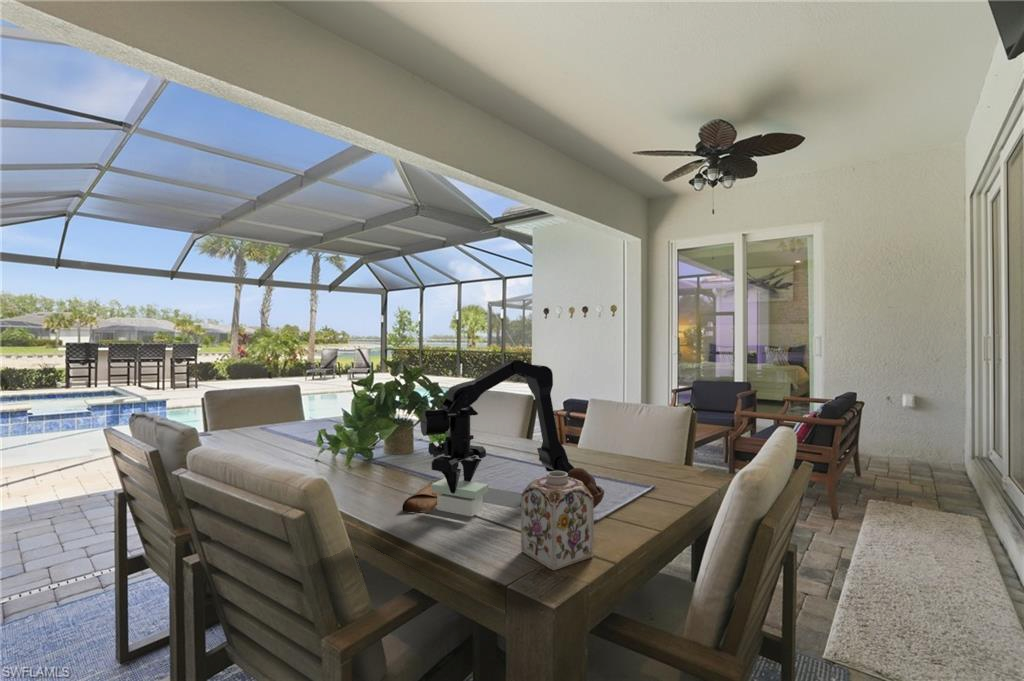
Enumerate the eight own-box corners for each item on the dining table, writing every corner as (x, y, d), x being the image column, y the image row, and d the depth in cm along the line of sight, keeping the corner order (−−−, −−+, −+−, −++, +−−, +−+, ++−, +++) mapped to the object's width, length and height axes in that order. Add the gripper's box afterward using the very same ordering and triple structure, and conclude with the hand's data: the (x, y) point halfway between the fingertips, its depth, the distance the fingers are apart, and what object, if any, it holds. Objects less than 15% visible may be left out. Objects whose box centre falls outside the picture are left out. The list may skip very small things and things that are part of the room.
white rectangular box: (482, 511, 133) (482, 495, 133) (471, 518, 128) (471, 501, 128) (448, 505, 138) (448, 489, 138) (437, 511, 133) (437, 495, 133)
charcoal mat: (533, 497, 145) (533, 495, 145) (515, 510, 134) (515, 507, 134) (481, 488, 153) (481, 486, 153) (460, 500, 142) (460, 497, 142)
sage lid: (488, 491, 133) (488, 484, 133) (475, 499, 127) (475, 491, 127) (445, 484, 139) (445, 477, 139) (431, 491, 133) (431, 484, 133)
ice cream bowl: (604, 537, 116) (604, 474, 116) (557, 533, 118) (557, 472, 118) (604, 520, 127) (604, 463, 126) (561, 517, 129) (561, 460, 129)
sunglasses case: (431, 514, 131) (419, 492, 131) (410, 525, 132) (398, 503, 133) (454, 493, 148) (444, 473, 149) (436, 503, 150) (425, 484, 150)
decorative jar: (595, 557, 106) (595, 475, 106) (554, 573, 99) (554, 484, 99) (558, 538, 116) (559, 463, 115) (519, 551, 109) (519, 471, 109)
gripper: (454, 424, 145) (454, 476, 145) (414, 436, 128) (414, 495, 128) (486, 427, 140) (486, 481, 140) (449, 440, 123) (450, 501, 123)
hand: (460, 489), depth 133 cm, fingers closed on sage lid, 6 cm apart
